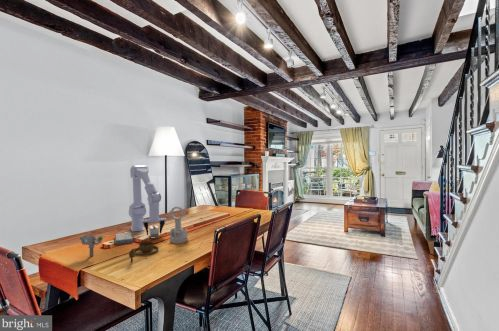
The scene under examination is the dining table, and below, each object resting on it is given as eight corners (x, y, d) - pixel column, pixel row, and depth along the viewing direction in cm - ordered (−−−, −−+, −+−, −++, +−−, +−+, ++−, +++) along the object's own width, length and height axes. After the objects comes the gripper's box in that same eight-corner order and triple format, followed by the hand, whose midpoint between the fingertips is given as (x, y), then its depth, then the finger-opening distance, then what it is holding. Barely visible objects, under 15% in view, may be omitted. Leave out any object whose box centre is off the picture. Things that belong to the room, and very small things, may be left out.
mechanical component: (99, 257, 124) (99, 237, 124) (79, 257, 125) (79, 237, 124) (103, 255, 127) (103, 235, 127) (83, 254, 128) (83, 235, 127)
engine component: (183, 243, 147) (189, 238, 157) (184, 208, 147) (189, 205, 157) (165, 242, 148) (172, 237, 158) (166, 207, 148) (172, 204, 158)
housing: (149, 235, 161) (149, 225, 161) (156, 234, 163) (156, 224, 163) (150, 239, 154) (151, 228, 154) (158, 238, 156) (158, 227, 156)
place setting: (166, 252, 134) (166, 241, 134) (131, 266, 117) (131, 253, 117) (146, 246, 144) (146, 235, 143) (111, 257, 127) (111, 245, 127)
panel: (115, 237, 155) (115, 233, 155) (131, 235, 159) (131, 231, 159) (115, 244, 142) (115, 240, 142) (132, 242, 147) (132, 238, 147)
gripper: (142, 214, 151) (142, 237, 152) (167, 212, 158) (167, 234, 159) (141, 212, 158) (141, 233, 158) (165, 210, 164) (165, 231, 165)
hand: (154, 233), depth 159 cm, fingers open, 7 cm apart
